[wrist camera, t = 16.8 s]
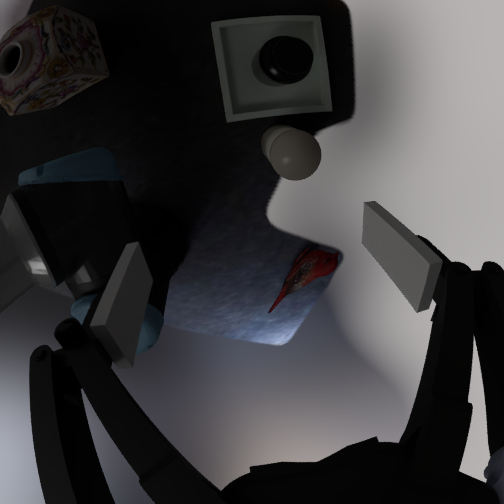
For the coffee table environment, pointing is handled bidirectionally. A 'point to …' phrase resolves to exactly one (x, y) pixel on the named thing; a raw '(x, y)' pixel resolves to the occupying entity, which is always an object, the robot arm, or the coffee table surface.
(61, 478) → the robot arm
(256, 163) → the coffee table surface
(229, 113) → the sage tray
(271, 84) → the supplement bottle
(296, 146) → the cream canister
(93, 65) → the decorative jar
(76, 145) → the coffee table surface
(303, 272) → the decorative bird figurine
